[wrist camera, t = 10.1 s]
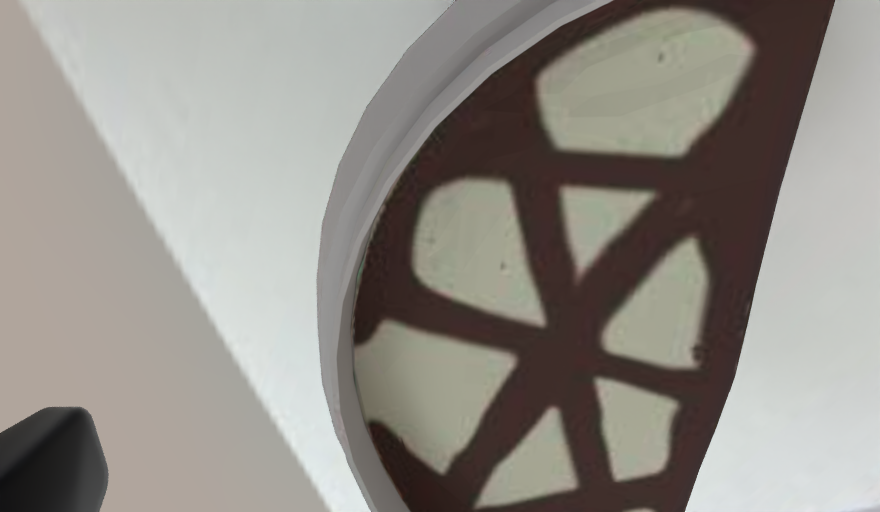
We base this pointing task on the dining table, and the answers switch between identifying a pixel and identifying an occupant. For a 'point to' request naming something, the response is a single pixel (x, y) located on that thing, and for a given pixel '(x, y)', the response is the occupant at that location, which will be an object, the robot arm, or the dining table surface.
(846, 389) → the dining table surface
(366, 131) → the food container
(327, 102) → the dining table surface
